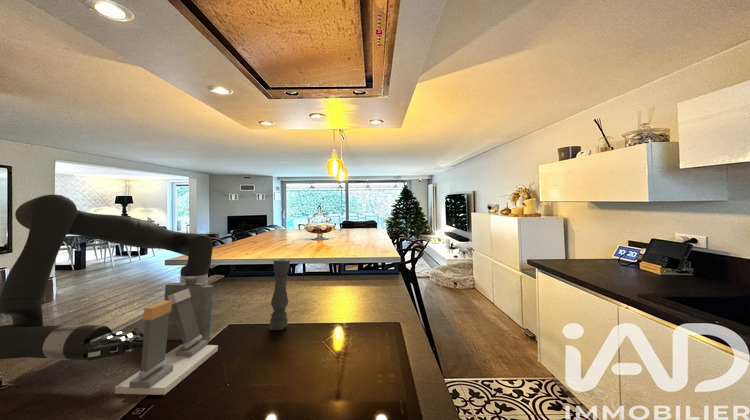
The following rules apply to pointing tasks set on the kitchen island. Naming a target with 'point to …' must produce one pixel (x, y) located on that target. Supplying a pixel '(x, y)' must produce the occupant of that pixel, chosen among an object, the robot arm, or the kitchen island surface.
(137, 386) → the switch panel
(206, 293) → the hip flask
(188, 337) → the grey lever
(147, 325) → the orange lever
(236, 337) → the kitchen island surface
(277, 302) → the candle holder
